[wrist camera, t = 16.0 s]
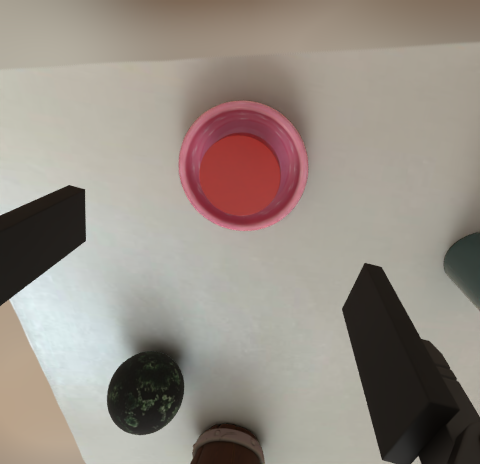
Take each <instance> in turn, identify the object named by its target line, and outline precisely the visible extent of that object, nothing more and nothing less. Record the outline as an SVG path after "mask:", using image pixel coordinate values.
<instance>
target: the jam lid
mask: <svg viewBox="0 0 480 464" xmlns="http://www.w3.org/2000/svg"><path fill="white" fill-rule="evenodd" d="M199 178H200V184H201V187H202V190H203V192H204V194H205V196H206V197H207V199H208V200H209V201H210V202H211V203H212V204H213V205H214V206H215V207H216V208H218V209H219V210H221V211H223V212H225V213H228V214H231V215H237V216H246V215H251V214H255V213H257V212H259V211H261V210H263V209H264V208H266V207H267V206H268V205H269V204H270V203H271V202H272V201H273V199H274V198H275V196H276V194H277V192H278V189H279V186H280V180H281V169H280V162H279V159H278V157H277V154H276V152H275V151H274V149H273V148H272V147H271V146H270V144H268V143H267V142H266V141H265V140H264V139H262V138H260V137H258V136H256V135H254V134H250V133H243V132H239V133H232V134H229V135H226V136H224V137H222V138H221V139H219V140H218V141H217V142H215V143H214V144H213V145H212V146H211V147H210V148H209V149H208V150H207V151H206V153H205V155H204V156H203V159H202V161H201V165H200V170H199Z"/></svg>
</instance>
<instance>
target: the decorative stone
mask: <svg viewBox="0 0 480 464" xmlns="http://www.w3.org/2000/svg"><path fill="white" fill-rule="evenodd" d="M183 395H184V380H183V375H182V373H181V370H180V368H179V366H178V365H177V364H176V362H175V361H174V360H173V359H172V358H170V357H169V356H167V355H166V354H163V353H160V352H154V351H149V352H142V353H139V354H136V355H134V356H132V357H131V358H129V359H127V360H126V361H125V362H123V363H122V364H121V365H120V366H119V368H118V369H117V370H116V372H115V373H114V375H113V377H112V379H111V381H110V384H109V388H108V394H107V406H108V411H109V414H110V416H111V418H112V420H113V421H114V423H115V424H116V425H117V426H118V427H119V428H120V429H122V430H123V431H125V432H128V433H130V434H134V435H146V434H151V433H154V432H156V431H158V430H160V429H162V428H163V427H164V426H166V425H167V424H168V423H169V422H170V421H171V420H172V419H173V418H174V416H175V415H176V413H177V412H178V410H179V408H180V406H181V403H182V400H183Z"/></svg>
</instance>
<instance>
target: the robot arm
mask: <svg viewBox="0 0 480 464" xmlns="http://www.w3.org/2000/svg"><path fill="white" fill-rule="evenodd" d="M85 241H86V223H85V189H81V188H78V187H74V186H70V185H68V186H66V187H64V188H62V189H59V190H57V191H55V192H53V193H50V194H48V195H46V196H43V197H41V198H39V199H37V200H34V201H32V202H30V203H28V204H25V205H23V206H21V207H19V208H16V209H14V210H12V211H10V212H7V213H5V214H3V215H0V306H1V305H2V304H3V303H5V302H6V301H7V300H9V299H10V298H11V297H13V296H14V295H15V294H17V293H18V292H19V291H21V290H22V289H23V288H24V287H26V286H27V285H28V284H30V283H31V282H32V281H34V280H35V279H36V278H38V277H39V276H40V275H42V274H43V273H44V272H46V271H47V270H48V269H49V268H51V267H52V266H53V265H55V264H56V263H57V262H59V261H60V260H61V259H63V258H64V257H65V256H67V255H68V254H69V253H71V252H72V251H73V250H74V249H76V248H77V247H78V246H80V245H81V244H82V243H84V242H85ZM342 311H343V315H344V318H345V322H346V326H347V330H348V333H349V337H350V341H351V345H352V348H353V352H354V356H355V360H356V364H357V367H358V371H359V375H360V379H361V382H362V386H363V390H364V394H365V397H366V401H367V405H368V409H369V412H370V416H371V420H372V424H373V428H374V431H375V435H376V439H377V443H378V446H379V450H380V454H381V458H382V460H384V461H388V462H391V463H395V464H411V463H412V462H413V461H414V460H415V459H416V458H417V457H418V456H419V458H420V461H421V464H480V417H479V415H478V413H477V412H476V410H475V408H474V407H473V405H472V403H471V402H470V400H469V398H468V397H467V395H466V393H465V392H464V390H463V388H462V387H461V385H460V383H459V382H458V381H456V379H457V378H456V377H455V375H454V373H453V372H452V370H450V367H449V365H448V363H447V362H446V360H445V358H444V357H443V355H442V354H441V353H440V352H439V350H438V349H437V348H436V347H435V346H434V345H433V344H432V343H431V342H430V341H427V340H423V339H421V338H420V336H419V334H418V332H417V331H416V329H415V327H414V325H413V323H412V321H411V320H410V318H409V316H408V314H407V312H406V311H405V309H404V307H403V305H402V303H401V302H400V300H399V298H398V296H397V294H396V292H395V291H394V289H393V287H392V285H391V283H390V282H389V280H388V278H387V276H386V274H385V273H384V271H383V269H382V267H379V266H375V265H371V264H367V263H365V264H364V266H363V268H362V270H361V272H360V274H359V276H358V278H357V280H356V282H355V284H354V286H353V288H352V290H351V292H350V294H349V296H348V298H347V300H346V302H345V304H344V306H343V308H342Z"/></svg>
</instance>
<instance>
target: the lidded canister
mask: <svg viewBox="0 0 480 464" xmlns="http://www.w3.org/2000/svg"><path fill="white" fill-rule="evenodd" d="M444 270H445V272H446V274H447V276H448V277H449V278H450V279H451V280H452V281H453V282H454V283H455V285H456V286H457V287H458V288H459V289H460V290H461V291H462V292H463V293H464V294H465V296H466V297H467V298H468V299H469V300H470V301H471V302H472V303H473V304H474V306H475V307H476V308H477V309H478V310H479V311H480V232H479V233H474V234H471V235H468V236H466V237H464V238H462V239H460V240H459V241H457V242H456V243H455V244H454V245H453V246H452V247H451V248H450V249H449V251H448V252H447V254H446V256H445V259H444Z"/></svg>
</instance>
